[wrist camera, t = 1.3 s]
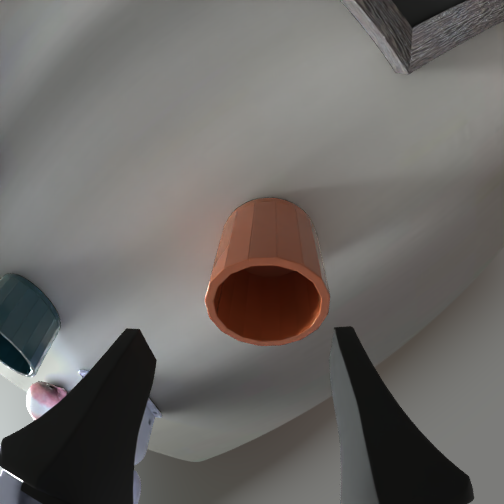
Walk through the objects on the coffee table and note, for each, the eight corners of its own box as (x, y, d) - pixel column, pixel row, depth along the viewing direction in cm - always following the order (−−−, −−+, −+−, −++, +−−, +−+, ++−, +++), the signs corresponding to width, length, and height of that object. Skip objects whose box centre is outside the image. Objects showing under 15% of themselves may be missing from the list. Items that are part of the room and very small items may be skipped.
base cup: (74, 337, 25) (50, 384, 20) (26, 329, 26) (3, 368, 21) (35, 272, 20) (-2, 321, 16) (-10, 273, 21) (-41, 312, 16)
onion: (29, 372, 33) (12, 408, 28) (49, 371, 31) (30, 412, 25) (64, 401, 37) (50, 435, 31) (88, 402, 35) (74, 441, 29)
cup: (314, 274, 19) (325, 343, 14) (229, 278, 19) (217, 346, 15) (316, 194, 16) (333, 254, 11) (216, 200, 16) (193, 260, 12)
